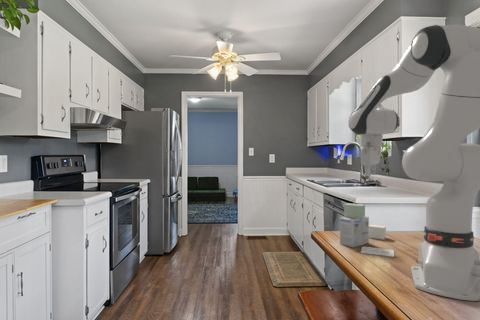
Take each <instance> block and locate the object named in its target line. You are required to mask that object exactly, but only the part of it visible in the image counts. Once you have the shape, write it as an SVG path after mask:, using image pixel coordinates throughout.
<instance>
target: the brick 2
mask: <svg viewBox="0 0 480 320" xmlns="http://www.w3.org/2000/svg"><path fill="white" fill-rule="evenodd" d="M386 235H387V226H386V225H379V224H370V223H369V238H370V239H377V240H385V239H386V237H387V236H386Z"/></svg>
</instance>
